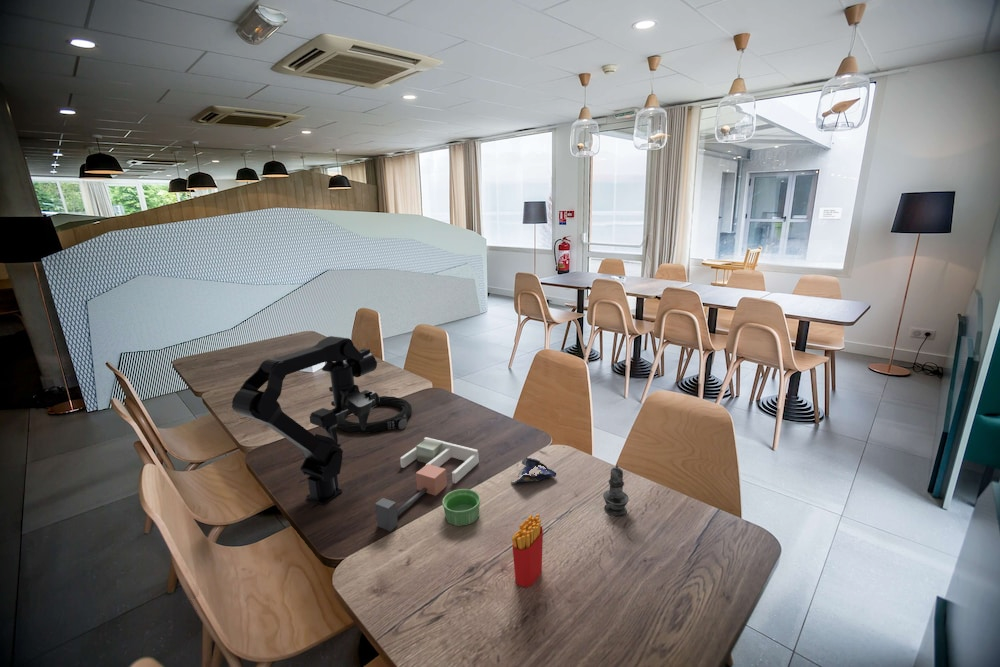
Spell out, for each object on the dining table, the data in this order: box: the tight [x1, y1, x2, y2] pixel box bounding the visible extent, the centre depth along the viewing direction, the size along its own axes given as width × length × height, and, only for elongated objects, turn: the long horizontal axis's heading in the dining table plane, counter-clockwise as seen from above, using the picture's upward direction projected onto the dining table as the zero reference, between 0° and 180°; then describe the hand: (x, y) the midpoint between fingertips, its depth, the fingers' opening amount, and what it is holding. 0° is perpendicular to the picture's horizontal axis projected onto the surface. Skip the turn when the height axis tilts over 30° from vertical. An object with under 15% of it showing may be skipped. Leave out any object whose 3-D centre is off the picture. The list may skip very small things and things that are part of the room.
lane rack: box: [399, 436, 480, 484], centre depth 129 cm, size 12×19×4 cm, turn 61°
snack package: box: [510, 456, 557, 485], centre depth 122 cm, size 12×6×12 cm
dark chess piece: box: [603, 464, 629, 518], centre depth 106 cm, size 6×6×12 cm
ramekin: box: [441, 488, 481, 527], centre depth 106 cm, size 9×9×4 cm
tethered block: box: [374, 463, 448, 532], centre depth 111 cm, size 21×6×6 cm, turn 151°
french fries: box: [511, 513, 544, 588], centre depth 87 cm, size 8×4×12 cm, turn 146°
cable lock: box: [335, 395, 413, 434], centre depth 162 cm, size 28×4×30 cm
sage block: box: [415, 439, 443, 464], centre depth 133 cm, size 5×6×5 cm
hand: (349, 436), depth 123 cm, fingers open, 9 cm apart
